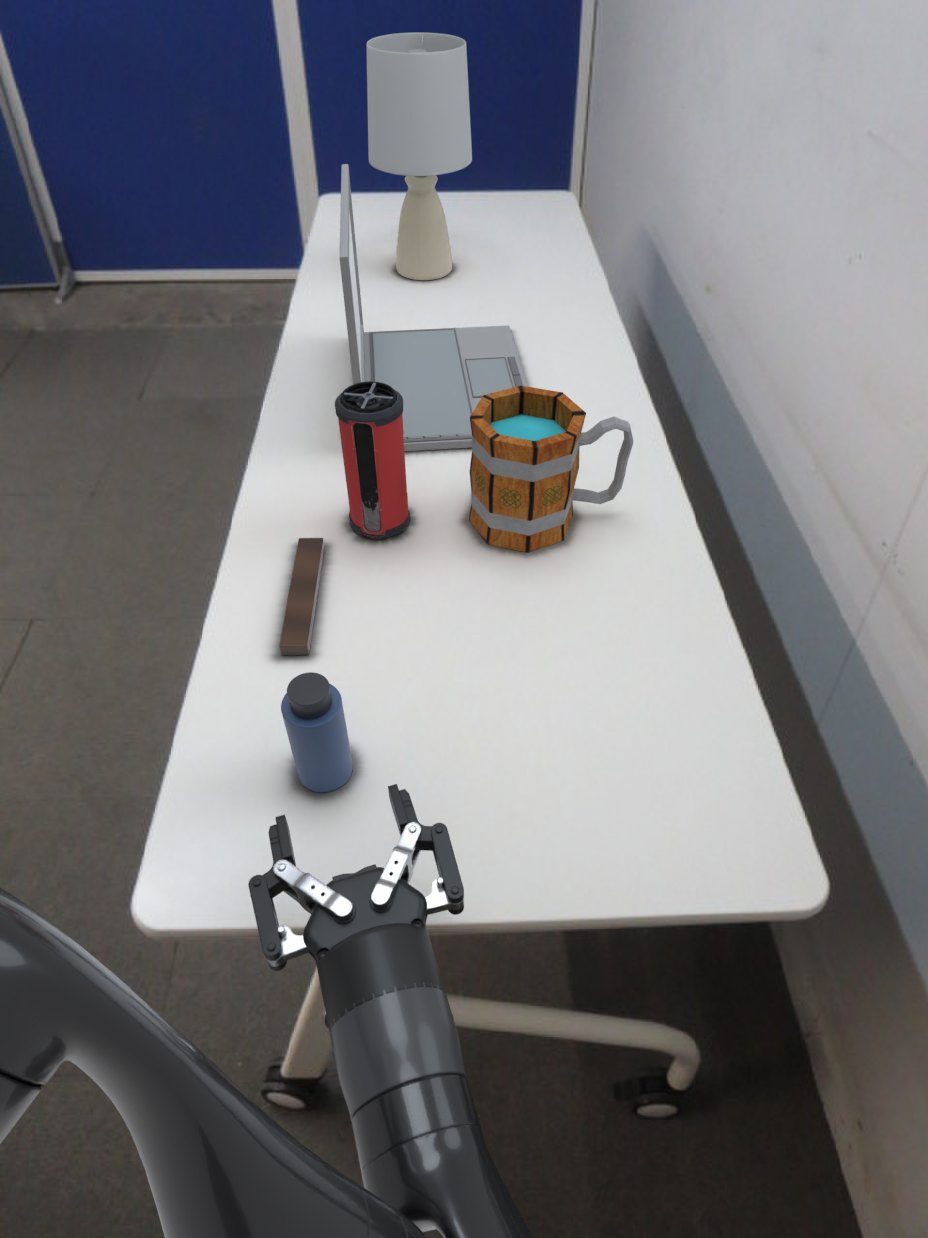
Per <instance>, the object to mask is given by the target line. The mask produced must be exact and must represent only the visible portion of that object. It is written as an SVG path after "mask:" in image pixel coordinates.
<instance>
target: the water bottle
mask: <svg viewBox="0 0 928 1238" xmlns="http://www.w3.org/2000/svg"><path fill="white" fill-rule="evenodd" d="M280 712H281V715H282V719H283V722H284V728H285V730H286V731H285V732H286V735H287V738H288V742H289V746H290V751H291V754H292V758H293V761H294V765H295V770H296V773H297V777H298V780H299V782H300V783H301V785H302V786H303V787H305V788H306V789H308V790H309V791H311V792H315V793H330V792H333V791H336V790H338V789H339V788H341V787H342V786H344V785H345V784H346V783H347V782H348V781H349V780H350V779H351V776H352V773H353V769H354V763H353V757H352V751H351V745H350V740H349V733H348V728H347V723H346V717H345V710H344V704H343V699H342V695H341V692H340V691H339V690H338V688H337V687H336V686H334V685H333V684H331V683H330V682H329V680H328V679H327V678H326V676H324V675H323V674H321V673H318V672H313V671H312V672H311V671H310V672H303V673H301V674H298V675H297V676H295V677H293V678H292V679H291V680H290V682H289V683H288V685H287V687H286V693H285V695H284V696H283V698H282V700H281V703H280Z"/></svg>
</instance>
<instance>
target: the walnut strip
mask: <svg viewBox="0 0 928 1238" xmlns="http://www.w3.org/2000/svg"><path fill="white" fill-rule="evenodd" d="M325 547H326V546H325V541H324V537H300V538H298V540H297V545H296V551H295V556H294V562H293V567H292V573H291V579H290V585H289V589H288V595H287V601H286V606H285V612H284V616H283V623H282V628H281V633H280V634H281V635H280V641H279V645H278V647H279V651H280V655H281V656H309V655H310V651H311V650H310V649H311V645H312V643H311V642H312V637H313V630H314V622H315V617H316V608H317V602H318V596H319V595H318V594H319V588H320V582H321V574H322V568H323V561H324V560H323V559H324V552H325Z"/></svg>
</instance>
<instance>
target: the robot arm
mask: <svg viewBox="0 0 928 1238" xmlns="http://www.w3.org/2000/svg"><path fill="white" fill-rule="evenodd" d="M387 790H388V797H389V802H390V805H391V809H392V813H393V816H394V819H395V822H396V825H397V830H398V832H399V833H398V834H399V836H400V837H399V840H398V842H397V844H396V846H394V847H393V848H392V851H391V853H390V855H389V857H388V859H387V862H386V863H385V866H384V867H382V866H377V864H376V863H374V864H371V865H368V866H364V867H363V868H361V869H360V870H358V871H356V872H351V873H341V874H337V875H334V876H332V877H331V879H332V880H330V881H329V882H328V883H327V884H325V883H324V882H322V881H321V880H319V879H318V878H316V877H315V876H313V874H311V873H310V872H304V871H303V870H301V869H300V868H299V867H297V863H296V862H297V861H296V857H295V853H294V847H293V843H292V842H293V841H292V837H291V832H290V827H289V823H288V820H287V817H286V814H281V815H278V816H275V817H274V819H275V824H273V825H272V824H271V825H270V826H269V828H268V833H267V834H268V838H269V845H270V851H271V856H272V857H271V858H272V866H271V868H270V869H269V870H267V871H266V872H265V873H263V874H256V875H254V876H252V877H251V878H250V879H249V881H248V890H249V895H250V899H251V903H252V909H253V914H254V918H255V923H256V927H257V932H258V936H259V940H260V946H261V950H262V953H263V955H264V958H265V961H266V962H267V965H268V966H269V969H271V970H272V971H274V972H279V971H280V972H281V970H283V969H284V968H285V967H286V966H287V964H288V961H290V960H293V959H296V958H298V957H301V956H303V955H306V954H309V955H310V956H311V957H312V958H313V959H314V961H315V965H316V970H317V974H318V975H317V976H318V981H319V985H320V991H321V996H322V1001H323V1006H324V1011H325V1017H326V1022H327V1028H328V1031H329V1037H330V1042H331V1048H332V1057H333V1058H332V1059H333V1061H334V1064H335V1068H336V1073H337V1078H338V1082H339V1086H340V1089H341V1092H342V1094H343V1098H344V1100H345V1104H346V1106H347V1107H346V1108H347V1110H348V1114H349V1118H350V1121H351V1127H352V1128H351V1129H352V1133H353V1136H354V1137H353V1138H354V1144H355V1148H356V1154H357V1160H358V1164H359V1169H360V1174H361V1178H362V1184H363V1186H362V1185H361V1184H360V1183H358V1182H357V1181H355V1180H353V1179H352V1178H351V1177H349V1176H347V1175H346V1174H344V1173H343V1172H341V1171H340V1170H338V1169H336V1168H335V1166H333V1165H331V1164H330V1163H328V1162H326V1161H325V1160H324V1159H323V1158H321V1157H320V1156H318V1155H317V1154H316V1153H314V1152H313V1151H312V1150H310V1148H308V1147H306V1146H305V1145H304V1144H302V1143H301V1142H300V1141H299V1140H297V1139H296V1138H295V1137H294V1136H292V1135H291V1134H290V1133H289V1132H288V1131H287V1130H286V1129H284V1128H283V1127H282V1126H281V1125H280V1124H278V1123H277V1122H276V1121H275V1120H274V1119H273V1118H272V1117H271V1116H270V1115H269V1114H267V1112H266V1111H264V1109H263V1108H261V1107H260V1106H259V1105H258V1104H257V1103H256V1102H255V1101H254V1100H253V1099H252V1098H251V1097H250V1096H249V1095H248V1094H247V1093H245V1091H243V1090H242V1089H241V1088H240V1086H238V1084H237V1083H236V1082H235V1081H233V1080H232V1078H230V1077H229V1075H228V1074H226V1073H225V1072H224V1071H223V1070H222V1069H221V1068H220V1067H219V1066H218V1065H217V1064H216V1063H215V1062H213V1060H211V1059H210V1058H209V1057H208V1056H207V1055H206V1054H205V1053H204V1052H203V1051H202V1050H201V1049H200V1048H199V1047H198V1046H196V1045H195V1044H194V1043H193V1042H192V1041H191V1040H190V1039H189V1038H188V1037H186V1036H185V1035H184V1034H183V1033H182V1032H181V1031H180V1030H179V1029H178V1028H176V1027H175V1026H174V1025H173V1024H172V1023H170V1021H168V1020H167V1019H166V1018H165V1017H164V1016H162V1014H160V1013H159V1012H158V1011H157V1010H156V1009H155V1008H154V1007H153V1006H151V1005H150V1004H149V1003H148V1002H147V1001H145V1000H144V998H143V997H141V996H140V995H139V994H137V992H135V990H133V989H132V988H131V987H130V986H129V985H128V984H126V983H125V982H124V981H123V980H122V979H121V978H120V977H118V975H116V974H115V973H114V972H112V971H111V970H110V969H109V968H108V967H107V966H105V965H104V963H102V962H101V961H99V960H98V958H96V957H95V956H94V955H92V954H91V953H90V952H89V951H88V950H86V948H84V947H83V946H82V945H80V944H79V943H78V941H76V940H75V939H74V938H72V937H71V936H70V935H68V934H67V933H66V932H65V931H64V930H62V929H60V928H59V927H58V926H57V925H55V924H54V923H53V922H52V921H51V920H49V919H48V918H46V917H45V916H44V915H42V914H41V913H39V912H38V911H37V910H36V909H34V908H33V907H31V906H29V905H28V904H26V903H25V902H23V901H22V900H21V899H19V898H18V897H16V896H15V895H14V894H13V893H11V892H9V891H7V890H5V889H4V888H2V887H0V1145H2V1143H3V1142H4V1140H5V1139H6V1137H8V1135H9V1134H10V1132H11V1131H12V1129H13V1128H15V1126H16V1124H17V1122H19V1120H21V1118H22V1117H23V1115H24V1113H25V1112H26V1111H27V1110H28V1108H29V1107H30V1106H31V1104H32V1103H33V1102H34V1100H35V1099H36V1098H37V1096H38V1095H39V1094H40V1093H41V1091H42V1090H43V1089H44V1085H46V1084H48V1083H50V1081H51V1079H52V1078H53V1077H54V1075H55V1074H56V1073H57V1072H58V1071H59V1069H60V1068H61V1067H62V1066H63V1064H65V1063H66V1062H70V1063H71V1064H73V1065H75V1066H76V1067H77V1068H79V1070H81V1071H82V1072H83V1073H84V1074H85V1075H87V1077H89V1078H90V1079H91V1080H92V1081H93V1083H95V1084H96V1085H97V1086H98V1087H99V1089H100V1090H101V1091H102V1092H103V1094H105V1095H106V1097H107V1098H109V1100H110V1101H111V1103H112V1104H113V1106H114V1107H115V1108H116V1110H117V1112H118V1113H119V1115H120V1117H121V1118H122V1120H123V1122H124V1124H125V1125H126V1127H127V1129H128V1131H129V1133H130V1136H131V1138H132V1141H133V1144H134V1145H135V1148H136V1151H137V1153H138V1156H139V1158H140V1161H141V1163H142V1166H143V1169H144V1171H145V1175H146V1178H147V1181H148V1184H149V1187H150V1190H151V1194H152V1197H153V1200H154V1203H155V1207H156V1210H157V1215H158V1218H159V1221H160V1225H161V1229H162V1233H163V1236H164V1238H428V1237H427V1236H426V1234H425V1232H430V1231H434V1230H437V1231H438V1232H439V1234H441V1236H442V1237H443V1238H535V1236H534V1235H533V1234H532V1231H531V1230H530V1227H529V1225H528V1224H527V1223H526V1221H525V1219H524V1218H523V1215H522V1213H521V1212H520V1210H519V1208H518V1206H517V1204H516V1203H515V1200H514V1199H513V1197H512V1195H511V1192H510V1191H509V1189H508V1188H507V1185H506V1184H505V1182H504V1181H505V1180H503V1177H502V1175H501V1174H500V1172H499V1170H498V1168H497V1166H496V1164H495V1162H494V1160H493V1158H492V1155H491V1154H490V1151H489V1149H488V1145H487V1144H486V1139H485V1135H484V1132H483V1128H482V1125H481V1122H480V1119H479V1115H478V1111H477V1107H476V1104H475V1102H474V1101H475V1100H474V1097H473V1095H472V1091H471V1088H470V1084H469V1081H468V1079H467V1078H468V1077H467V1073H466V1069H465V1065H464V1059H463V1053H462V1046H461V1041H460V1036H459V1032H458V1029H457V1025H456V1022H455V1019H454V1015H453V1012H452V1009H451V1005H450V1003H449V999H448V995H447V992H446V988H445V985H444V981H443V978H442V975H441V972H440V968H439V965H438V962H437V958H436V955H435V951H434V948H433V945H432V942H431V938H430V934H429V931H428V928H427V919H428V916H430V915H433V914H437V913H442V912H445V911H448V913H449V914H451V915H455V916H457V915H460V914H461V913H463V912H464V909H465V888H464V885H463V881H462V877H461V874H460V870H459V867H458V866H459V865H458V862H457V859H456V856H455V852H454V847H453V845H452V841H451V837H450V833H449V830H448V827H447V825H446V824H445V823H442V822H436V823H435V824H432V825H424V824H422V823H421V822H420V821H419V820H418V817H417V814H416V810H415V808H414V804H413V801H412V798H411V796H410V793H409V791H408V790H407V789H406V788H403V789H399V786H398V783H395V784H391V785H388V786H387ZM422 851H426V852H427V851H428V852H429V851H430V852H432V853H433V857H434V862H435V865H436V869H437V873H438V876H437V877H436V878H434V879H433V881H432V883H431V891H430V893H429V894H428V895H426V896H425V895H424V894H423V893H422V892H421V891H420V890H418V889H417V888H415V887H414V886H412V885H411V884H410V883H411V880H412V877H413V874H414V869H415V867H416V864H417V861H418V860H419V857H420V855H421V852H422ZM282 893H284V894H286V895H287V896H289V897H290V898H291V899H293V900H294V901H295V902H296V903H298V904H299V905H300V907H301V908H303V910H304V911H306V912H307V913H308V914H310V915H309V918H308V920H307V922H306V924H305V926H304V928H303V932H302V934H295V933H294V932H293V930H292V929H291V926H289V925H286V924H281V925H280V924H279V919H278V915H277V911H276V907H275V902H274V898H276V897H277V896H279V895H280V894H282Z"/></svg>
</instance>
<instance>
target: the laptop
mask: <svg viewBox="0 0 928 1238" xmlns="http://www.w3.org/2000/svg"><path fill="white" fill-rule="evenodd" d="M340 169H341V171H340V172H341V173H340V174H341V175H340V176H341V177H340V213H339V214H340V215H339V218H340V219H339V220H340V221H339V266H340V275H341V285H342V293H343V303H344V313H345V323H346V332H347V340H348V348H349V349H348V350H349V359H350V368H351V377H352V385H353V384H356V383H360V382H369V381H373V382H381V383H384V384H387V385H389V386H391V387H392V388H393V389H394V390H396V391H397V392H399V393H400V394H401V396H402V398H403V413H402V415H403V432H404V434H403V437H404V452H415V451H433V450H434V451H435V450H436V451H437V450H452V449H453V450H454V449H467V448H468V449H469V448H471V449H472V431H471V423H470V416H471V415H472V413H473V411H474V410H475V408H476V406H477V405H478V403H479V401H480V400H481V398H482V396H483V395H487V394H490V393H494V392H498V391H502V390H506V389H510V388H513V387H517V386H527V387H529V384H528V382H527V379H526V375H525V373H524V369H523V366H522V362H521V359H520V356H519V353H518V350H517V346H516V343H515V340H514V336H513V333H512V329H511V327H510V325H492V326H491V325H490V326H468V327H467V326H466V327H448V328H447V327H446V328H445V327H444V328H443V327H442V328H424V329H423V328H421V329H403V330H383V331H382V330H381V331H380V330H379V331H365V329H364V319H363V318H364V317H363V306H362V295H361V285H360V275H359V274H360V273H359V264H358V263H359V262H358V254H357V253H358V252H357V243H356V242H357V241H356V232H355V221H354V209H353V200H352V188H351V177H350V165H349V163H342V164H341V168H340Z"/></svg>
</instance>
